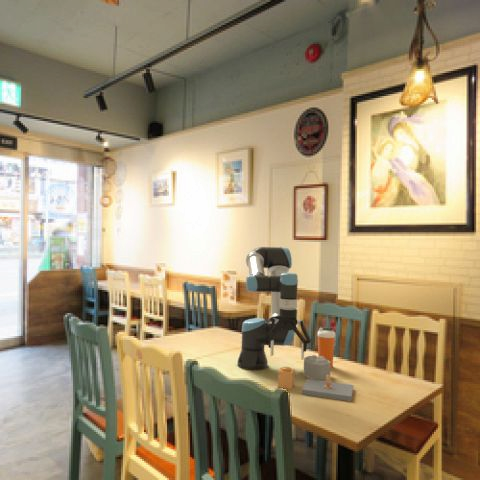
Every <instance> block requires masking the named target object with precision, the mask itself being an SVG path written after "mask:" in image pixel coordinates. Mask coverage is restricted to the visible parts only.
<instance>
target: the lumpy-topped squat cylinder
mask: <svg viewBox="0 0 480 480" xmlns="http://www.w3.org/2000/svg"><path fill="white" fill-rule="evenodd" d="M331 369H332V368H331V362H330V361H329V360H326V359H325V357H324V356H320V357H318V355H315V354H312V355H308V356H304V359H303V375H304V376H305V377H307V378H308V379H313V380H320V381H324V380H326V375H330V376H331Z"/></svg>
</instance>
